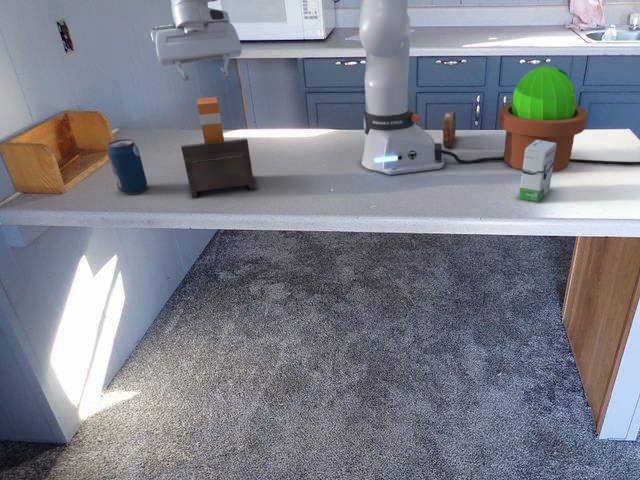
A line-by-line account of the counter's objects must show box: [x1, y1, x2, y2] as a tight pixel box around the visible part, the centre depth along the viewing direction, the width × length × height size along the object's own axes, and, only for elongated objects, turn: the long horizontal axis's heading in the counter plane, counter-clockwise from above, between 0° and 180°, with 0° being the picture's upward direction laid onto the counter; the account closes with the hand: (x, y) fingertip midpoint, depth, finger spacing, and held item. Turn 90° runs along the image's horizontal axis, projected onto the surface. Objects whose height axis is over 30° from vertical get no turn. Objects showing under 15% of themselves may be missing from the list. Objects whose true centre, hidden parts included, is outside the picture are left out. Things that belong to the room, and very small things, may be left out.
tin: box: [442, 110, 456, 148], centre depth 161 cm, size 15×3×8 cm, turn 168°
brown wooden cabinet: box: [180, 138, 256, 199], centre depth 134 cm, size 15×10×12 cm, turn 107°
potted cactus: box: [497, 63, 589, 172], centre depth 141 cm, size 22×22×25 cm
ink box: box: [518, 140, 557, 203], centre depth 126 cm, size 9×5×12 cm, turn 148°
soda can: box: [106, 138, 148, 195], centre depth 133 cm, size 7×7×12 cm
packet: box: [196, 96, 225, 143], centre depth 129 cm, size 4×6×11 cm
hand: (206, 77), depth 136 cm, fingers open, 8 cm apart
